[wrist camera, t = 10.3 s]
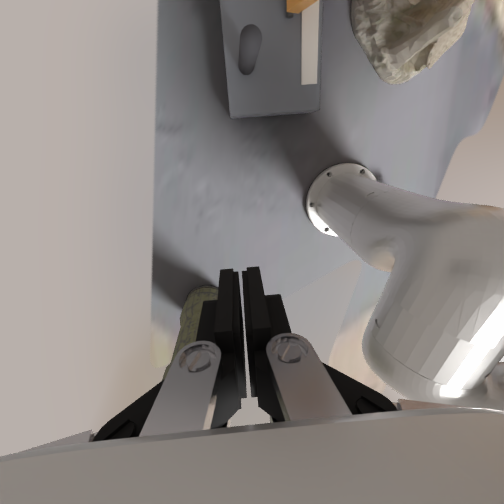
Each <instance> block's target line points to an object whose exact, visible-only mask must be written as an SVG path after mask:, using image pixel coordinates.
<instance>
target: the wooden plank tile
mask: <svg viewBox="0 0 504 504" xmlns="http://www.w3.org/2000/svg"><path fill="white" fill-rule="evenodd" d="M316 1H318V0H286V17H287V18H292V17H293V13H297V14H298V13H300V12H301V11H303V10H304V9H306V8H307V7H309V6H310V5H312V4H313V3H315V2H316Z"/></svg>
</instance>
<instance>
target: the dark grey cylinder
mask: <svg viewBox="0 0 504 504" xmlns="http://www.w3.org/2000/svg"><path fill="white" fill-rule="evenodd" d="M261 43H262V33H261V31H260V29H259V28H258V27H257V26H256V25H253V24H248V25H246V26H245V27H244V28H243V29H242V31H241V34H240V45H239V62H238V67H239V70H240V72H241V73H242V74H244V75H249V74H251V73H252V72H253V70H254V67H255V64H256V60H257V57H258V53H259V50H260V47H261Z"/></svg>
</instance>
